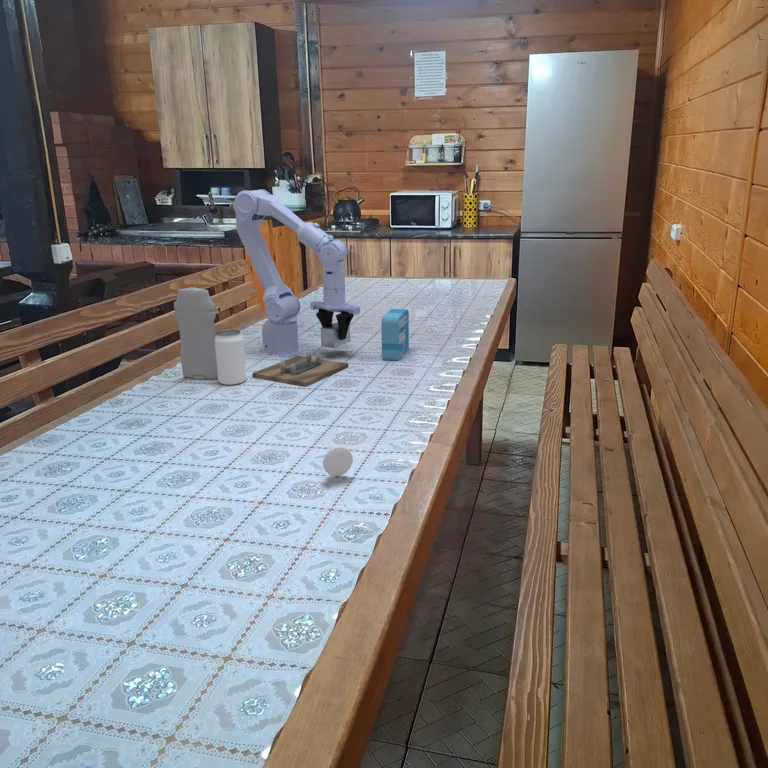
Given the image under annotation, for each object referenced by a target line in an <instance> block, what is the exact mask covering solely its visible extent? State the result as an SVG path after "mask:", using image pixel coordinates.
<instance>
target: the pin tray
mask: <svg viewBox="0 0 768 768" xmlns="http://www.w3.org/2000/svg"><path fill="white" fill-rule="evenodd" d="M305 355H306V356H302V355H295V356H293V357H291V358H287V359H285V360H281V362H278V363H275V364H272V365H270V366H266V367H265V368H261V369H259V370H257V371H255V372H252V378H256V379H261V380H267V381H272V382H277V383H278V382H279V383H283V384H290V385H296V386H300V387H308V386H310V385H312V384H315V383H317V382H320V381H322V380H324V379H326V378H328V377H330V376H332V375H334V374H337V373H339V372H342V371H343V370H345V369H348V368H349V363H347V362H342V361H334V360H329V359H322V356H321V353H316V354H315V357H312V353H311V352H310V351H307V352H305Z"/></svg>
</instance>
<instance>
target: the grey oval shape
mask: <svg viewBox="0 0 768 768" xmlns="http://www.w3.org/2000/svg"><path fill="white" fill-rule="evenodd" d="M353 462H354V459H353V455H352V452H351V451H350V450H349V449H348V448H346V447H344V446H335V447H330V448H328V449H327V451H326V452H325V454H324V457H323V459H322V467H323V469H324V471H325V473H327V474H328V475H330V476H331V477H340V476H343V475H345V474H346V473H347V472H348V471H349V470H350V469H351V468H352V465H353Z"/></svg>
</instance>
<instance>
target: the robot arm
mask: <svg viewBox="0 0 768 768" xmlns="http://www.w3.org/2000/svg"><path fill="white" fill-rule="evenodd" d="M232 208H233V210H234V213H235V228H236V232H237V234H238V236H239V238H240V241H241V243H242V244H243V246H244V247H243V248H244V249H245V251H246V254H247V255H248V258H249V260H250V262H251V265H252V266H253V267H252V268H253V269H254V271H255V274H256V275H257V277H258V280H259V283H260V285H261V287H262V289H263V290H264V292H263V296H262V301H263V304H264V313H265V316H266V317H267V320H266V321H264V323H263V325H262V328H261V335H262V336H261V337H262V351H261V353H262V354H270V355H276V356H281V357H291V356H293V355H296V354H298V353H301V352H304V351H306V349H305V348H301V347H299V336H298V335H299V333H298V332H299V331H298V317H297V316H298V314H299V313H300V311H301V302H300V300H299V298H298V297H297V296H296V295H294V293H293V292H292V289H291V288H290V287H289V286H287V285H286V284H285V283H284V282H283V280H282V277H281V276H280V273H279V271H278V268H277V267H276V265H275V261H274V260H273V258H272V256H271V253H270V251H269V249H268V247H267V244H266V242H265V240H264V238H263V235H262V234H261V232H260V227H261V224H262V222H263V220H264V219H265V217H266V216H268V217H272V218H274V219H275V220H277V221H279V222H280V223H282V224H283V225H285V226H286V227H287V228H289V229H290V230H292V231H293V232H295V233H296V236H297V241H299V242H300V243H301V244H303V245H304V246H305V247H307V248H308V249H309V250H311V251H312V252H313V253H315V255H316V254H317V258H318V259H319V261H320V262H321V264H322V288H323V291H322V292H323V293H322V294H323V301H316V300H315V301H311V302H310V310H312V311H314V310H316V311H318V312H316V313H315V316H316V317H317V319H318V321H319V322H320V325H321V328H322V327H325V326H327V325H330V324H333V319H334V313H338V314H335V318H336V321H337V322H338V326H339V338H340V340H344V339H346V336H347V331H348V328H349V325H350V326H351V322H352V320H353V318H354V316H355V315H360V314H361V306H360V305H359V306H358V305H354V304H350V303H346V273H345V272H346V271H345V270H346V269H345V259H346V258H347V255H348V248H347V245H346V243H344V242H343V240H342V239H339V238H337V239H334V236H333V235H331V234H328V233H327V232H325V231H324V230H323V229H321V228H320V224H319V223H317V222H314V223H313V222H311V221H307V222H305V221H303V220H302V218H300V217H299V216H298V215H296V214H295V213H294V212H293V211H291V210H290V209H289V208H288V207H287V206H285V204H283V203H282V201H280V200H279V199H278V198H277V197H276V196H275V195H273V194H271V193H270V192H269V191H267V190H266V189H262V188H261V189H256V190H255V189H254V190H241V191H239V192H238V193H237V194H236V196H235V199H234V201H233V204H232Z"/></svg>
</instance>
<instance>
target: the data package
mask: <svg viewBox="0 0 768 768" xmlns="http://www.w3.org/2000/svg"><path fill="white" fill-rule="evenodd" d="M409 317H410V315H409V309H407V308H406V309H405V308H391V309H390V310H388V311H387V312H386V313H384V315H382V317H381V320H380V321H381V358H382V360H383V361H398V362H399V361H400V360H401V359H402V358H403V357H404V355H405V354H406V353H407V351H408V350H409V346H410V345H409V343H410V342H409V340H410V339H409V338H410V337H409V334H410V332H409V331H410V328H409V327H410V323H409V322H410V320H409Z"/></svg>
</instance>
